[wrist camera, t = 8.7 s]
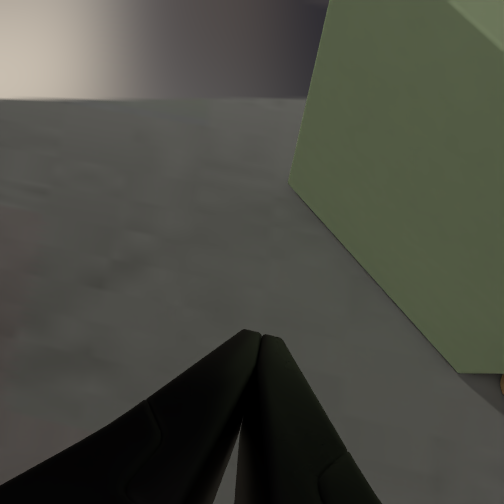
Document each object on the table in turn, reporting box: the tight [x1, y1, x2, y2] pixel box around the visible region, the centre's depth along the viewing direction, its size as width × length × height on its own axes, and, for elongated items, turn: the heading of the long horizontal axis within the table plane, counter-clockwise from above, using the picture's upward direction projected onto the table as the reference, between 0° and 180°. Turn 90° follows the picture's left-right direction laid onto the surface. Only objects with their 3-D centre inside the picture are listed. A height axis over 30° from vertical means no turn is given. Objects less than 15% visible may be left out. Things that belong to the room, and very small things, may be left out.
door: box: [288, 0, 504, 374], centre depth 14 cm, size 11×1×13 cm, turn 39°
